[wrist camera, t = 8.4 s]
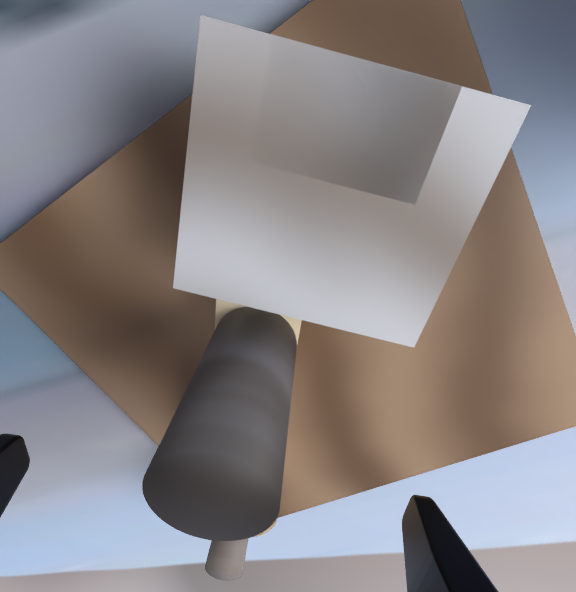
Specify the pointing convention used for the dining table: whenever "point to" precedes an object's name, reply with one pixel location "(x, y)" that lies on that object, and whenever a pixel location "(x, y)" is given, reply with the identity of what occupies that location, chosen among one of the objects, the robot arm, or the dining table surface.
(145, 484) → the lever
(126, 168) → the keeper board
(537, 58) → the dining table surface
